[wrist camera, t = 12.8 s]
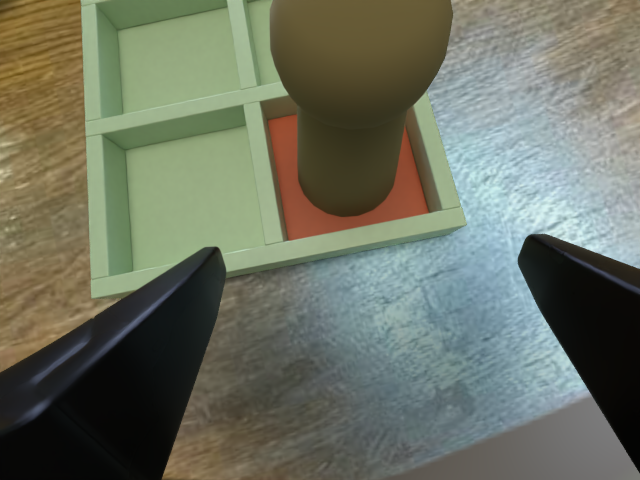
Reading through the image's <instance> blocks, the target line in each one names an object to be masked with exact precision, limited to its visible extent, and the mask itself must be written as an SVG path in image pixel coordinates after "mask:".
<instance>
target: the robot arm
mask: <svg viewBox="0 0 640 480" xmlns="http://www.w3.org/2000/svg"><path fill="white" fill-rule="evenodd" d="M518 265H519V268H520V270H521V272H522V274H523V276H524V278H525V281H526V283H527V285H528V287H529V289H530V291H531V293H532V295H533V297H534V300H535V302H536V304H537V306H538V308H539V310H540V311H541V313H542V315H543V317H544V318H545V320H546V322H547V323H548V325H549V326H550V328H551V330H552V331H553V333H554V335H555V336H556V338H557V339H558V341H559V343H560V344H561V346H562V348H563V349H564V351H565V353H566V354H567V356H568V357H569V359H570V361H571V362H572V364H573V366H574V367H575V369H576V370H577V372H578V374H579V375H580V377H581V379H582V380H583V382H584V383H585V385H586V387H587V388H588V390H589V392H590V393H591V395H592V396H593V398H594V400H595V401H596V403H597V405H598V406H599V408H600V410H601V411H602V413H603V414H604V416H605V418H606V419H607V421H608V423H609V424H610V426H611V427H612V429H613V431H614V432H615V434H616V436H617V437H618V439H619V440H620V442H621V444H622V445H623V447H624V448H625V450H626V452H627V453H628V455H629V457H630V458H631V460H632V462H633V463H634V465H635V467H636V468H637V470H638V471H639V473H640V269H638V268H635V267H633V266H630V265H627V264H625V263H622V262H619V261H617V260H614V259H611V258H609V257H606V256H603V255H601V254H598V253H595V252H593V251H590V250H587V249H585V248H582V247H579V246H577V245H574V244H571V243H568V242H566V241H563V240H560V239H558V238H555V237H552V236H550V235H547V234H531V235H529V236H527V237H526V239H525V241H524V244H523V246H522V249H521V251H520V254H519V256H518ZM225 278H226V266H225V263H224V260H223V256H222V253H221V250H220V248H219V247H217V246H212V247H204V248H202V249H200V250H199V251H197V252H196V253H194V254H192V255H191V256H189V257H188V258H186V259H185V260H183V261H181V262H180V263H178V264H177V265H175V266H173V267H172V268H170V269H169V270H167V271H166V272H164V273H162V274H161V275H159V276H158V277H156V278H155V279H153V280H151V281H150V282H148V283H147V284H145V285H143V286H142V287H140V288H139V289H137V290H136V291H134V292H132V293H131V294H129V295H128V296H126V297H125V298H123V299H121V300H120V301H118V302H117V303H115V304H113V305H112V306H110V307H109V308H107V309H106V310H104V311H102V312H101V313H99V314H98V315H96V316H95V317H94V319H93V318H92V319H90V320H88V321H87V322H85V323H83V324H82V325H80V326H79V327H77V328H76V329H74V330H72V331H71V332H69V333H67V334H66V335H64V336H62V337H61V338H59V339H58V340H56V341H54V342H53V343H51V344H49V345H48V346H46V347H44V348H42V349H41V350H39V351H37V352H36V353H34V354H32V355H30V356H29V357H27V358H25V359H23V360H22V361H20V362H18V363H16V364H15V365H13V366H11V367H9V368H8V369H6V370H4V371H2V372H1V373H0V480H161V479H162V477H163V474H164V471H165V468H166V465H167V462H168V459H169V456H170V453H171V450H172V447H173V445H174V442H175V439H176V436H177V433H178V430H179V427H180V424H181V421H182V418H183V415H184V413H185V410H186V407H187V404H188V401H189V398H190V395H191V392H192V389H193V386H194V383H195V381H196V378H197V375H198V372H199V369H200V366H201V363H202V360H203V357H204V354H205V351H206V349H207V346H208V343H209V340H210V337H211V334H212V331H213V328H214V325H215V322H216V319H217V315H218V311H219V306H220V302H221V297H222V292H223V288H224V283H225Z"/></svg>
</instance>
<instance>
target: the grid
mask: <svg viewBox="0 0 640 480" xmlns="http://www.w3.org/2000/svg"><path fill="white" fill-rule="evenodd" d="M272 1H273V0H81V6H82V7H81V17H82V44H83V72H84V99H85V121H86V123H85V132H86V137H87V138H86V154H87V181H88V209H89V236H90V264H91V279H92V280H91V298H92V299H107V298H125V297H126V296H128V295H129V294H131V293H132V292H134V291H136V290H137V289H139V288H140V287H142V286H143V285H145V284H147V283H148V282H150V281H151V280H153V279H155V278H156V277H158V276H159V275H161V274H162V273H164V272H166V271H167V270H169V269H170V268H172V267H173V266H175V265H177V264H178V263H180V262H181V261H183V260H185V259H186V258H188V257H189V256H191V255H192V254H194V253H196V252H197V251H199V250H200V249H202V248H204V247H212V246H217V247H219V248H220V250H221V253H222V256H223V260H224V263H225V266H226V278H229V277H234V276H239V275H245V274H250V273H255V272H260V271H265V270H270V269H275V268H280V267H285V266H290V265H296V264H301V263H306V262H311V261H316V260H321V259H326V258H331V257H336V256H341V255H346V254H352V253H357V252H362V251H367V250H372V249H377V248H382V247H387V246H392V245H397V244H402V243H408V242H413V241H418V240H423V239H428V238H433V237H438V236H443V235H448V234H451V233H452V232H454V231H456V230H458V229H460V228H462V227H464V226H466V225H467V223H466V220H465V216H464V213H463V210H462V207H461V204H460V201H459V198H458V194H457V191H456V187H455V184H454V181H453V177H452V174H451V171H450V167H449V164H448V161H447V157H446V154H445V151H444V147H443V144H442V140H441V137H440V134H439V130H438V127H437V124H436V120H435V117H434V114H433V110H432V107H431V103H430V100H429V97H428V93H427V90H426V92H425V93H424V95H423V96H422V97H421V98H420V99H419V100H418V101H417V102H416V103H415V104H414V105H413V106H412V107H411V108H409V109H408V110H407V115H406V121H405V127H404V133H403V138H402V144H401V150H400V155H399V161H398V167H397V172H396V177H395V181H394V186H393V188H392V190H391V192H390V193H389V195H388V196H387V198H386V200H385V201H383V202H382V203H381V204H380V205H379V206H377V207H376V208H375V209H374V210H372V211H369V212H367V213H364V214H362V215H359V216H351V217H340V216H335V215H331V214H327V213H325V212H324V211H322V210H320V209H319V208H317V207H315V206H314V205H313V204H312V203H311V202H310V201H309V200H308V199H307V197H306V196H305V195H304V194H303V191H302V189H301V186H300V184H299V181H298V167H297V104H296V103H295V102H294V101H293V100H292V99H291V97H290V96H289V94H288V93H287V91H286V90H285V88H284V87H283V84H282V82H281V80H280V77H279V75H278V72H277V70H276V68H275V65H274V62H273V58H272V55H271V51H270V7H271V4H272Z"/></svg>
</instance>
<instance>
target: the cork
mask: <svg viewBox="0 0 640 480" xmlns="http://www.w3.org/2000/svg"><path fill="white" fill-rule="evenodd" d="M452 18H453V11H452V5H451V0H273V1H272V4H271V7H270V51H271V55H272V58H273V62H274V65H275V68H276V70H277V72H278V75H279V77H280V80H281V82H282V84H283V87H284V88H285V90H286V91H287V93H288V94H289V96H290V97H291V99H292V100H293V101H294V102H295V103H296V104H297V167H298V181H299V184H300V186H301V189H302V191H303V194H304V195H305V196H306V197H307V199H308V200H309V201H310V202H311V203H312V204H313V205H314V206H315V207H317V208H319V209H320V210H322V211H324V212H325V213H327V214H331V215H335V216H340V217H351V216H359V215H362V214H364V213H367V212H369V211H372V210H374V209H375V208H376V207H377V206H379V205H380V204H381V203H382V202H383V201H385V200H386V198H387V196H388V195H389V193H390V192H391V190H392V188H393V186H394V181H395V177H396V172H397V167H398V161H399V155H400V150H401V144H402V138H403V133H404V127H405V121H406V115H407V110H408V109H409V108H411V107H412V106H413V105H414V104H415V103H416V102H417V101H418V100H419V99H420V98H421V97H422V96H423V95H424V93H425V92H426V90H427V89H428V87H429V86H430V84H431V82H432V81H433V79H434V78H435V76H436V75H437V73H438V71H439V69H440V67H441V65H442V63H443V61H444V58H445V55H446V51H447V46H448V41H449V36H450V31H451V25H452Z"/></svg>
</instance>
